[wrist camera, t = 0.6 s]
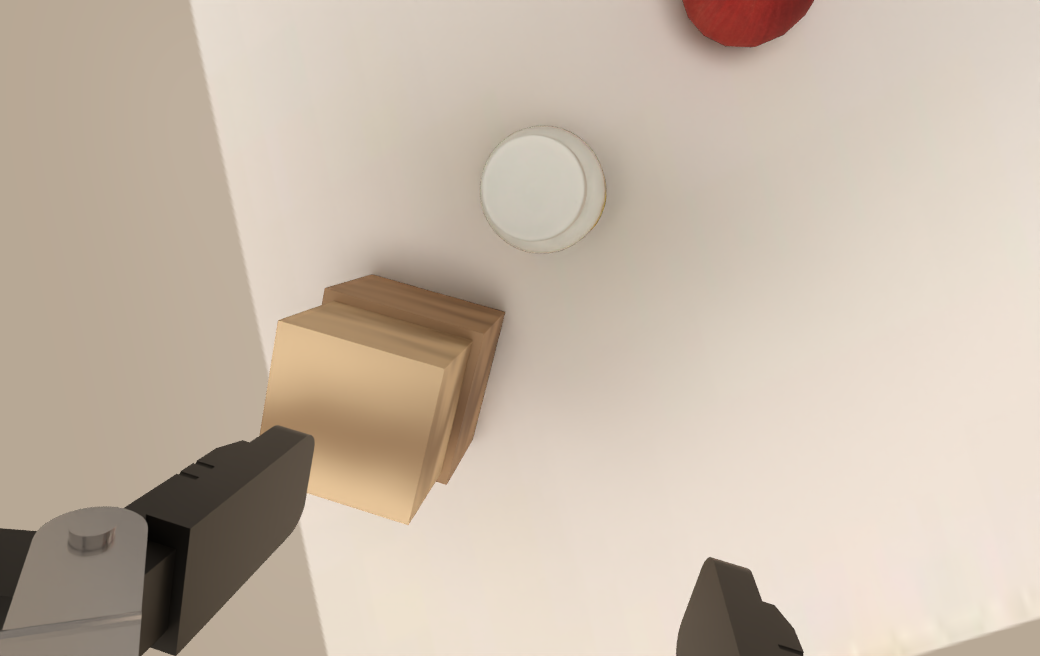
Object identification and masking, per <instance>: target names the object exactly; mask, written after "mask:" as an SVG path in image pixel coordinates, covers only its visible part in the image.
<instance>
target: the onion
mask: <svg viewBox="0 0 1040 656" xmlns="http://www.w3.org/2000/svg"><path fill="white" fill-rule="evenodd" d="M813 1H814V0H683V3H684V6H685V10H686V13H687V16H688V18H689V19H690V20H691V21H692V22H693V24H694V25H695V26H696V27H697V28H698V29H699V30H700V32H701V33H702V34H703V35H704V36H706V37H708V38H710V39H712V40H714V41H716V42H718V43H720V44H722V45H724V46H735V47H755V46H758V45H761V44H763V43H766V42H768V41H770V40H773V39H775V38H777V37H780V36H782V35H784V34H785V33H786V32H787V31H788V30H789V29H790V28H792V27H793V26H794V25H795V24H796V23H797V22H798V21H799V20H800V19H801V18H802V17H803V16H805V14H806V13H807V11H808V10H809V8H810V6H811V5H812V3H813Z"/></svg>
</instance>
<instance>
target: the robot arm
mask: <svg viewBox="0 0 1040 656" xmlns="http://www.w3.org/2000/svg"><path fill="white" fill-rule="evenodd" d="M314 446H315V441H314V437H313V436H312V435H309V434H306V433H303V432H300V431H296V430H293V429H290V428H286V427H283V426H280V425H275V426H273V427H272V428H270V429H269V430H267V431H266V432H264V433H263V434H261V435H260V436H259V437H257V438H256V439H255V440H253V441H251V442H250V443H249V442H246V441H243V440H242V441H239V442H236V443H232V444H229V445H226V446H222V447H219V448H216V449H214V450H213V451H211V452H210V453H208V454H207V455H205V456H204V457H202V458H201V459H199V460H197V462H196V464H194V463H193V464H191V465H190V466H188V467H187V468H185V469H184V470H182V471H181V472H180V474H179V475H178V474H176V475H174V476H173V477H171V478H170V479H168V480H167V481H165V482H164V483H162V484H160V485H159V486H157V487H156V488H154V489H153V490H151V491H149V492H148V493H146V494H145V495H143V496H142V497H140V498H139V499H137V500H136V501H134V502H132V503H131V504H129V505H128V506H126V507H125V508H118V507H91V508H84V509H79V510H75V511H72V512H68V513H65V514H63V515H60V516H58V517H56V518H54V519H52V520H50V521H49V522H47V523H45V524H44V525H43V526H42V527H41V528H40V529H39V530H38V531H26V530H14V529H13V530H12V529H1V528H0V656H142V655H143V653H145V652H146V651H147V650H148V649H149V648H150V647H151V648H154V649H157V650H160V651H163V652H165V653H168V654H171V655H174V656H176V655H177V654H178V653H179V652H180V651H181V650H182V649H183V648H184V647H185V646H186V645H187V644H188V643H189V642H190V641H191V639H192V638H193V637H194V636H195V635H196V634H197V633H198V632H199V631H200V630H201V629H202V628H203V627H204V625H206V623H207V622H208V621H209V620H210V619H211V618H212V617H213V616H214V615H215V614H216V613H217V612H218V611H219V610H220V609H221V608H222V607H223V605H224V604H225V603H226V602H227V601H228V600H229V599H230V598H231V597H232V596H233V595H234V594H235V593H236V591H238V590H239V588H240V587H241V586H242V585H243V584H244V583H245V582H246V581H247V580H248V579H249V578H250V577H251V576H252V575H253V574H254V572H255V571H256V570H257V569H258V568H259V567H260V566H261V565H262V564H263V563H264V562H265V561H266V560H267V559H268V558H269V556H271V554H272V553H273V552H274V551H275V550H276V549H277V548H278V547H279V546H280V545H281V544H282V543H283V542H284V541H285V539H286V538H287V537H288V536H289V535H290V534H291V533H292V532H293V530H294V529H295V527H296V525H297V523H298V521H299V519H300V517H301V515H302V512H303V509H304V505H305V500H306V494H307V488H308V482H309V477H310V471H311V465H312V459H313V453H314ZM803 653H804V652H803V649H802V647H801V645H800V642H799V640H798V637H797V635H796V633H795V630H794V628H793V627H792V626H791V625H790V623H789V622H788V621H787V620H786V619H785V617H784V616H783V615H782V614H781V613H780V611H779V610H778V609H777V608H776V607H775V605H772V604H769V603H766V602H763V601H762V599H761V596H760V594H759V591H758V588H757V586H756V583H755V580H754V577H753V575H752V572H751V571H750V570H749V569H748V568H744V567H741V566H738V565H734V564H731V563H728V562H725V561H721V560H718V559H715V558H711V557H709V558H707V559H706V561H705V562H704V564H703V566H702V569H701V571H700V574H699V577H698V579H697V582H696V585H695V587H694V590H693V593H692V595H691V598H690V601H689V603H688V606H687V609H686V611H685V614H684V617H683V619H682V622H681V625H680V629H679V633H678V639H677V648H676V656H803Z"/></svg>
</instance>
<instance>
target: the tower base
mask: <svg viewBox="0 0 1040 656" xmlns="http://www.w3.org/2000/svg"><path fill="white" fill-rule="evenodd" d="M332 301H336V302H339V303H343V304H346V305H350V306H353V307H357V308H361V309H364V310H368V311H371V312H375V313H378V314H382V315H385V316H389V317H392V318H396V319H399V320H403V321H406V322H410V323H413V324H417V325H420V326H424V327H427V328H431V329H434V330H438V331H441V332H445V333H448V334H452V335H455V336H459V337H462V338H466V339H469V340H473V343H472V347H471V351H470V355H469V359H468V363H467V368H466V372H465V376H464V380H463V384H462V388H461V392H460V396H459V401H458V405H457V409H456V413H455V417H454V421H453V425H452V430H451V434H450V438H449V442H448V446H447V450H446V454H445V458H444V463H443V467H442V471H441V474H440V475H439V477H438V478H437V480H436V482H439V483H442V484H446V485H447V483H448V481H449V480H450V478H451V476H452V475H453V473H454V471H455V469H456V468H457V466H458V464H459V462H460V461H461V459H462V457H463V456H464V454H465V452H466V450H467V449H468V447H469V445H470V443H471V442H472V440H473V436H474V432H475V428H476V425H477V421H478V417H479V413H480V409H481V405H482V401H483V397H484V393H485V389H486V385H487V382H488V378H489V374H490V370H491V366H492V362H493V358H494V354H495V350H496V346H497V342H498V338H499V335H500V331H501V327H502V323H503V319H504V315H505V312H503V311H500V310H496V309H493V308H489V307H485V306H482V305H478V304H475V303H471V302H468V301H464V300H461V299H457V298H454V297H450V296H447V295H443V294H440V293H436V292H432V291H429V290H425V289H422V288H418V287H415V286H411V285H408V284H404V283H401V282H397V281H394V280H390V279H386V278H383V277H379V276H376V275H368V276H365V277H361V278H358V279H355V280H351V281H348V282H344V283H341V284H337V285H334V286H330V287H327V288H325V290H324V295H323V301H322V305H324V304H327V303H330V302H332Z"/></svg>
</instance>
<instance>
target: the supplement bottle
mask: <svg viewBox="0 0 1040 656" xmlns="http://www.w3.org/2000/svg"><path fill="white" fill-rule="evenodd" d="M480 198H481V204H482V208H483V211H484V214H485V216H486V219H487V221H488V222H489V224H490V226H491V227H492V229H493V230H494V231H495V232H496V234H497V235H498V236H499V237H501V238H502V239H503V240H504V241H505V242H507V243H508V244H510V245H512V246H513V247H515V248H517V249H520V250H522V251H526V252H530V253H552V252H557V251H561V250H564V249H566V248H568V247H570V246H572V245H574V244H575V243H577V242H578V241H580V240H581V239H582V238H583V237H585V235H587V234H588V232H589V231H590V230H592V228H593V227H594V226H595V225H596V224H597V222H598V220H599V219H600V216H601V214H602V212H603V209H604V206H605V202H606V182H605V178H604V174H603V170H602V168H601V165H600V163H599V161H598V159H597V157H596V155H595V154H594V152H593V151H592V150H591V148H590V147H589V146H588V145H587V144H586V143H585V142H584V141H583V140H582V139H580V138H579V137H578V136H576V135H575V134H573V133H571V132H569V131H567V130H564V129H561V128H558V127H553V126H534V127H529V128H525V129H522V130H520V131H517V132H515V133H513V134H512V135H510V136H508V137H507V138H506V139H504V140H503V141H502V142H501V143H500V144H499V145H498V146H497V147H496V148H495V149H494V151H493V152H492V153H491V155H490V156H489V158H488V160H487V162H486V164H485V166H484V169H483V172H482V177H481V182H480Z"/></svg>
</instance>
